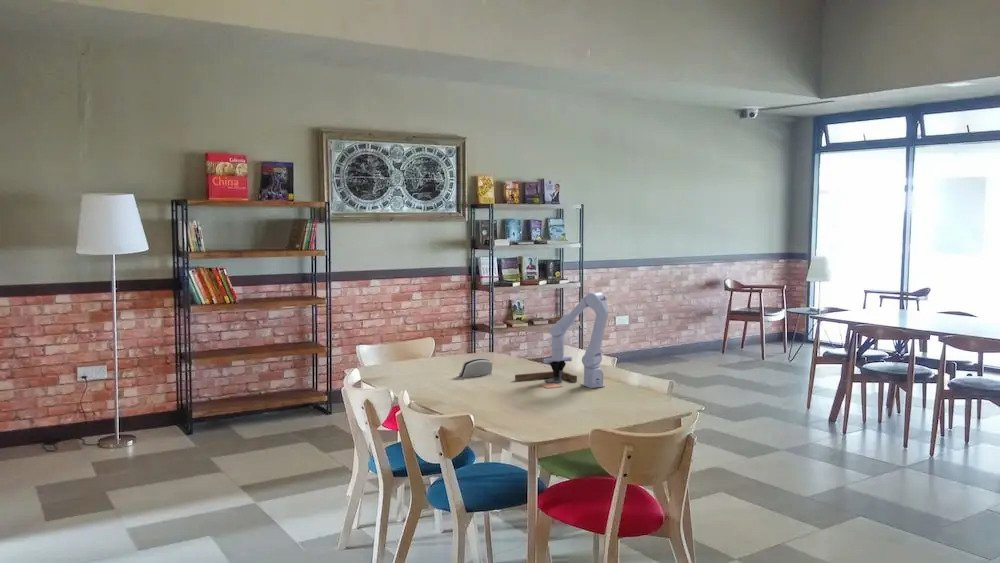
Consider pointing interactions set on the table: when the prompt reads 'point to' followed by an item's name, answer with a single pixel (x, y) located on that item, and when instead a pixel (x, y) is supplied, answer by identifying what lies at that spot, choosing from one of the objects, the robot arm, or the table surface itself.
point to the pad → (550, 385)
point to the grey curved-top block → (476, 367)
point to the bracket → (555, 378)
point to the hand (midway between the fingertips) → (557, 376)
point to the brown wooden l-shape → (544, 376)
